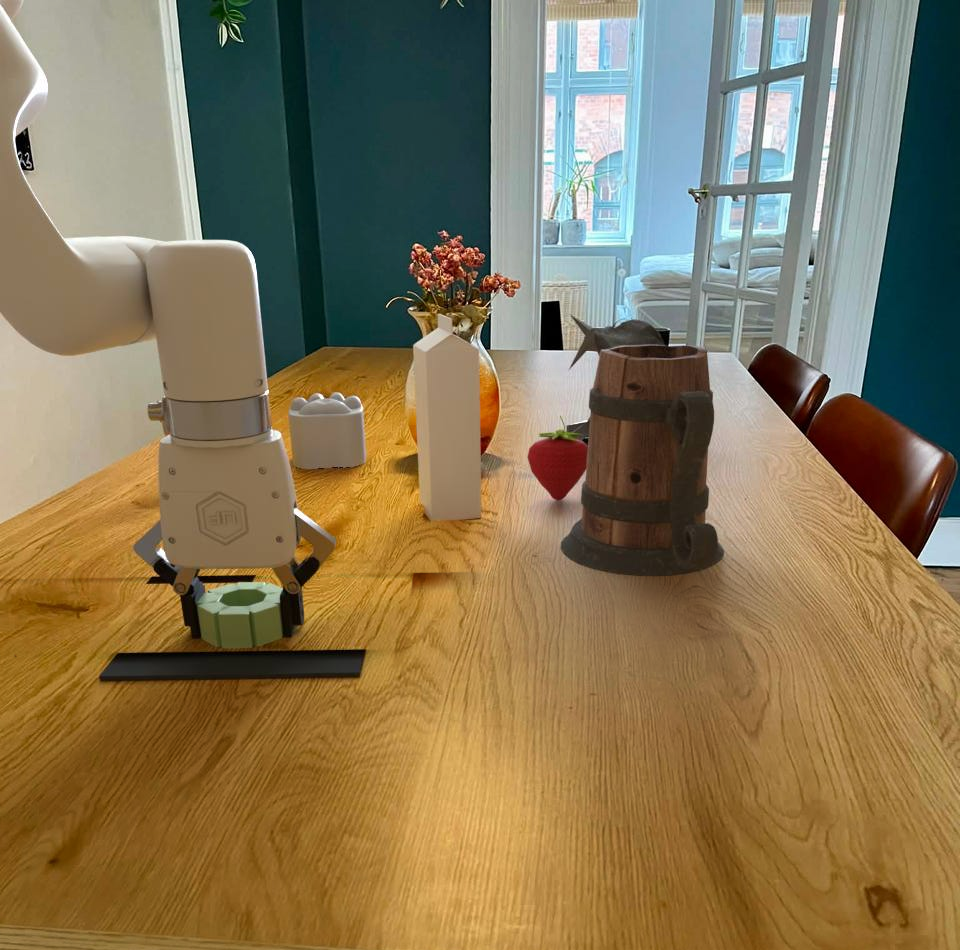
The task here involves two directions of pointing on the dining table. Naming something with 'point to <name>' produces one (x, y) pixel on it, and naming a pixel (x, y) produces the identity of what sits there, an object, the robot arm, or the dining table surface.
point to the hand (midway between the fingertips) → (246, 631)
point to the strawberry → (558, 461)
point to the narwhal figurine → (609, 338)
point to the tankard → (647, 464)
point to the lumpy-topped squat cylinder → (327, 432)
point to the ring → (241, 615)
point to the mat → (234, 665)
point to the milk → (448, 424)
